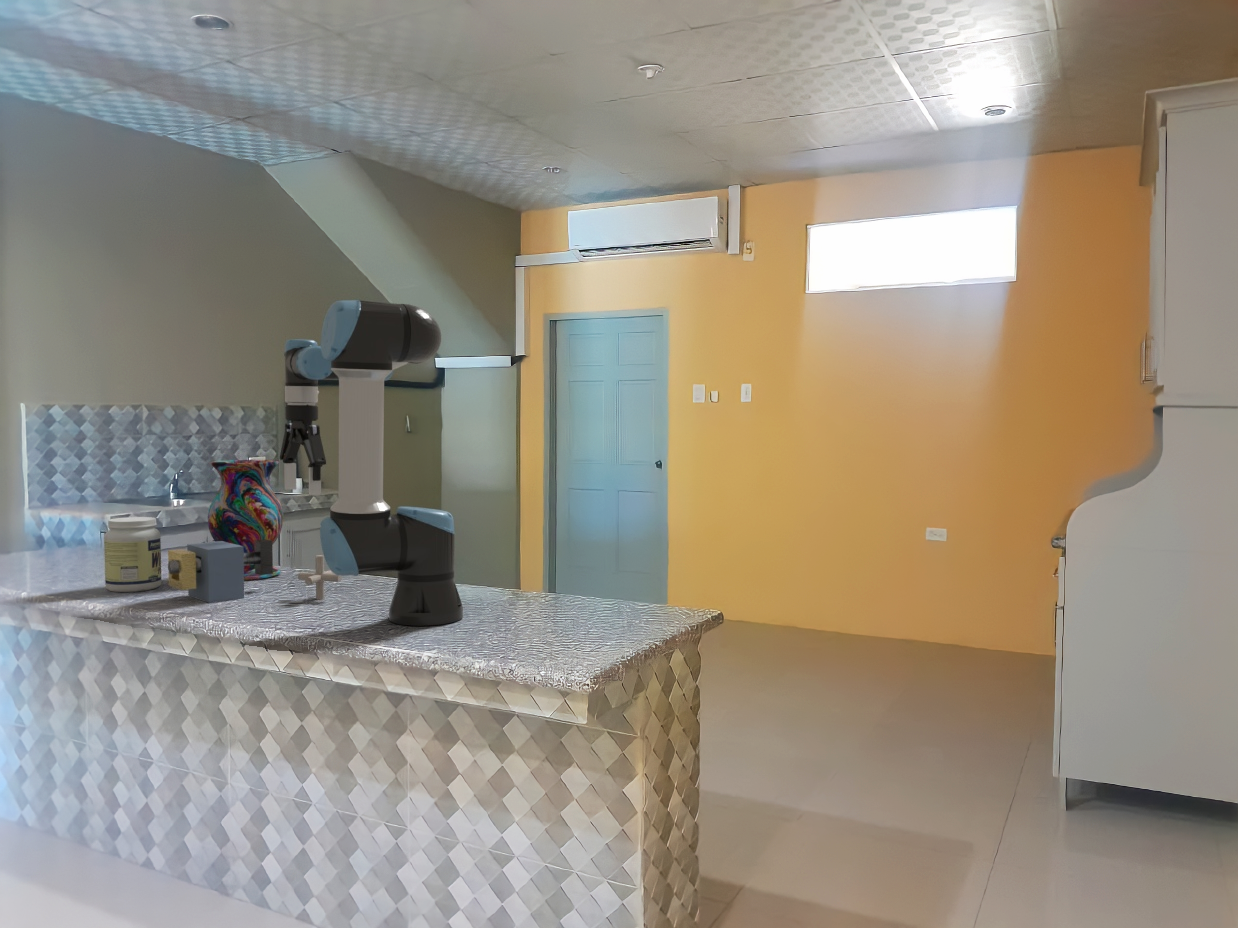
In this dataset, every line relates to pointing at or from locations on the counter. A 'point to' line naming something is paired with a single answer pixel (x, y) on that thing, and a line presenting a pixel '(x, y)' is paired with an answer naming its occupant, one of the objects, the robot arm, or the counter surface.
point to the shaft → (259, 558)
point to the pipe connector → (319, 577)
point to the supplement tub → (132, 554)
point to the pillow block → (218, 571)
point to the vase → (245, 507)
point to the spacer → (183, 569)
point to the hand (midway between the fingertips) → (302, 492)
